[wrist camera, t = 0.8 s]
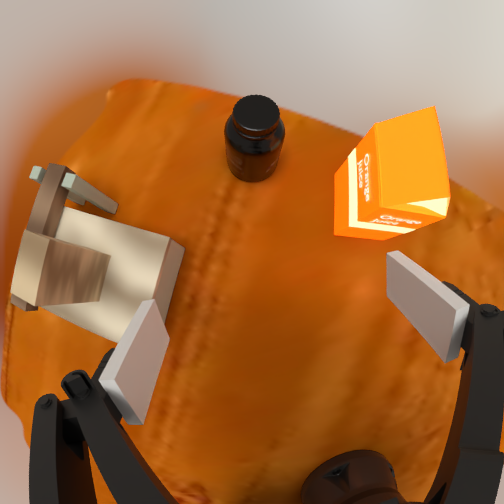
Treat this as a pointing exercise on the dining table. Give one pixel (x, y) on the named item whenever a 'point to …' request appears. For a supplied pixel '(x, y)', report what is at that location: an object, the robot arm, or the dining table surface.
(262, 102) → the supplement bottle
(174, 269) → the set of sage-green parts
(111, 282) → the lid
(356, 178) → the orange juice
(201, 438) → the dining table surface
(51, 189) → the brown wooden bar
